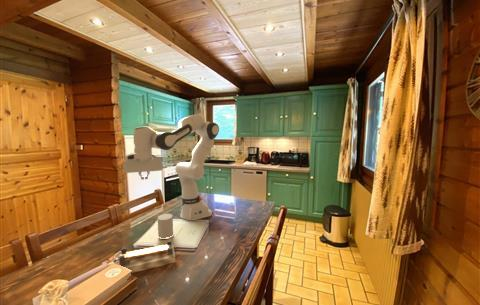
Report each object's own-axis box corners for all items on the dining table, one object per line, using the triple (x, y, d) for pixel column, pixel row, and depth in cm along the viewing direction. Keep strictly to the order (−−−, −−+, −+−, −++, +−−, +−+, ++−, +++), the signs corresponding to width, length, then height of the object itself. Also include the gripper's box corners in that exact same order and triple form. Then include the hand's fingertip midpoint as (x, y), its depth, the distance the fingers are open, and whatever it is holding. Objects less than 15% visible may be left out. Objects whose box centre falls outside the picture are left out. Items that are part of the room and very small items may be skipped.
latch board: (173, 248, 104) (172, 235, 103) (175, 262, 93) (175, 248, 92) (120, 259, 95) (120, 246, 94) (116, 276, 84) (115, 261, 83)
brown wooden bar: (171, 246, 99) (171, 243, 99) (171, 250, 96) (171, 247, 96) (121, 255, 91) (121, 252, 91) (120, 261, 87) (119, 257, 87)
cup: (176, 234, 118) (175, 215, 117) (166, 241, 110) (166, 220, 109) (164, 231, 121) (164, 213, 119) (155, 238, 113) (154, 218, 112)
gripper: (162, 153, 118) (163, 176, 119) (123, 155, 109) (125, 179, 111) (163, 155, 112) (164, 178, 113) (121, 156, 104) (123, 182, 105)
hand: (144, 179), depth 112 cm, fingers closed
